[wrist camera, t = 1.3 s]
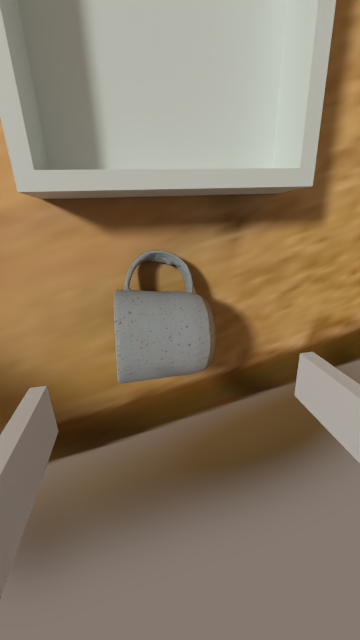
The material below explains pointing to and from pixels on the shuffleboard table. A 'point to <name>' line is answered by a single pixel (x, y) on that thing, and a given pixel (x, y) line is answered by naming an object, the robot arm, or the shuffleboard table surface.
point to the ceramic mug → (162, 327)
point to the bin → (163, 95)
